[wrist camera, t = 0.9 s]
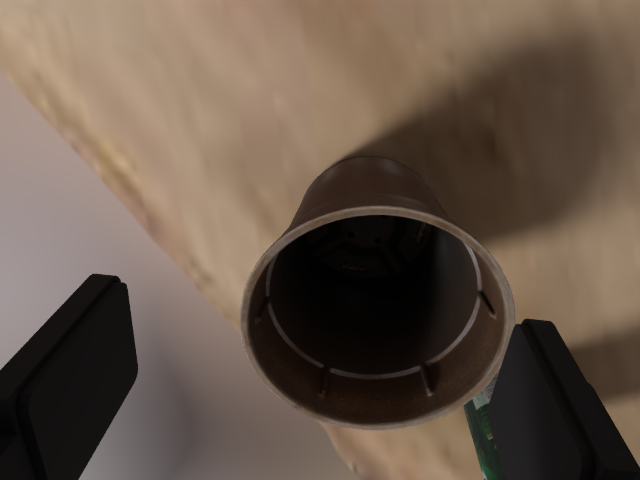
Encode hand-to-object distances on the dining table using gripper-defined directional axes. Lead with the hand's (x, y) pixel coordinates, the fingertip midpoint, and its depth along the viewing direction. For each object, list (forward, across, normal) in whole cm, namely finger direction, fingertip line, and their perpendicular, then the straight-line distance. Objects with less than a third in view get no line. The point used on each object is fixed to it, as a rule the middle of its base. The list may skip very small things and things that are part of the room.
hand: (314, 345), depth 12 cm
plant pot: (+30, -3, +11) cm, 32 cm away
